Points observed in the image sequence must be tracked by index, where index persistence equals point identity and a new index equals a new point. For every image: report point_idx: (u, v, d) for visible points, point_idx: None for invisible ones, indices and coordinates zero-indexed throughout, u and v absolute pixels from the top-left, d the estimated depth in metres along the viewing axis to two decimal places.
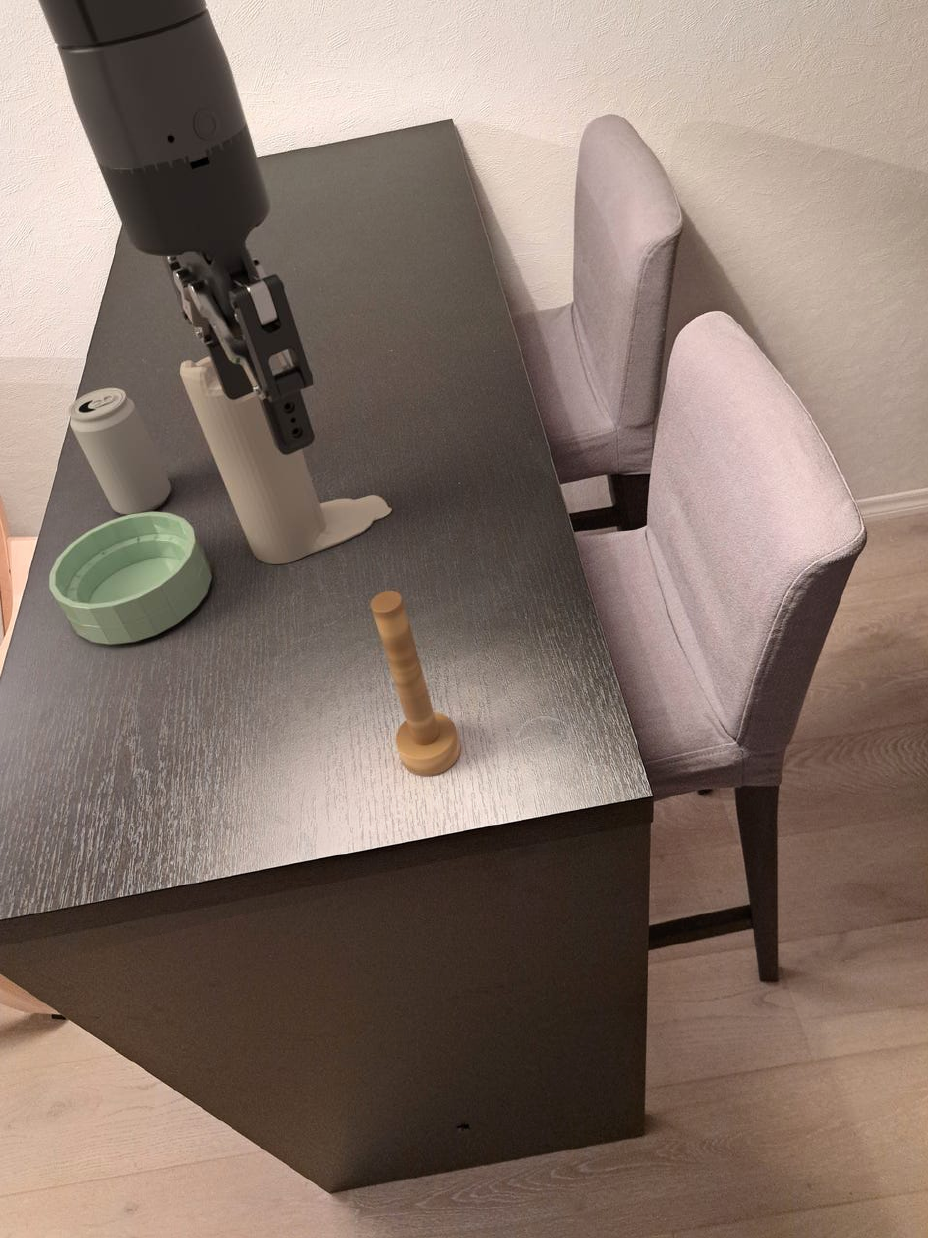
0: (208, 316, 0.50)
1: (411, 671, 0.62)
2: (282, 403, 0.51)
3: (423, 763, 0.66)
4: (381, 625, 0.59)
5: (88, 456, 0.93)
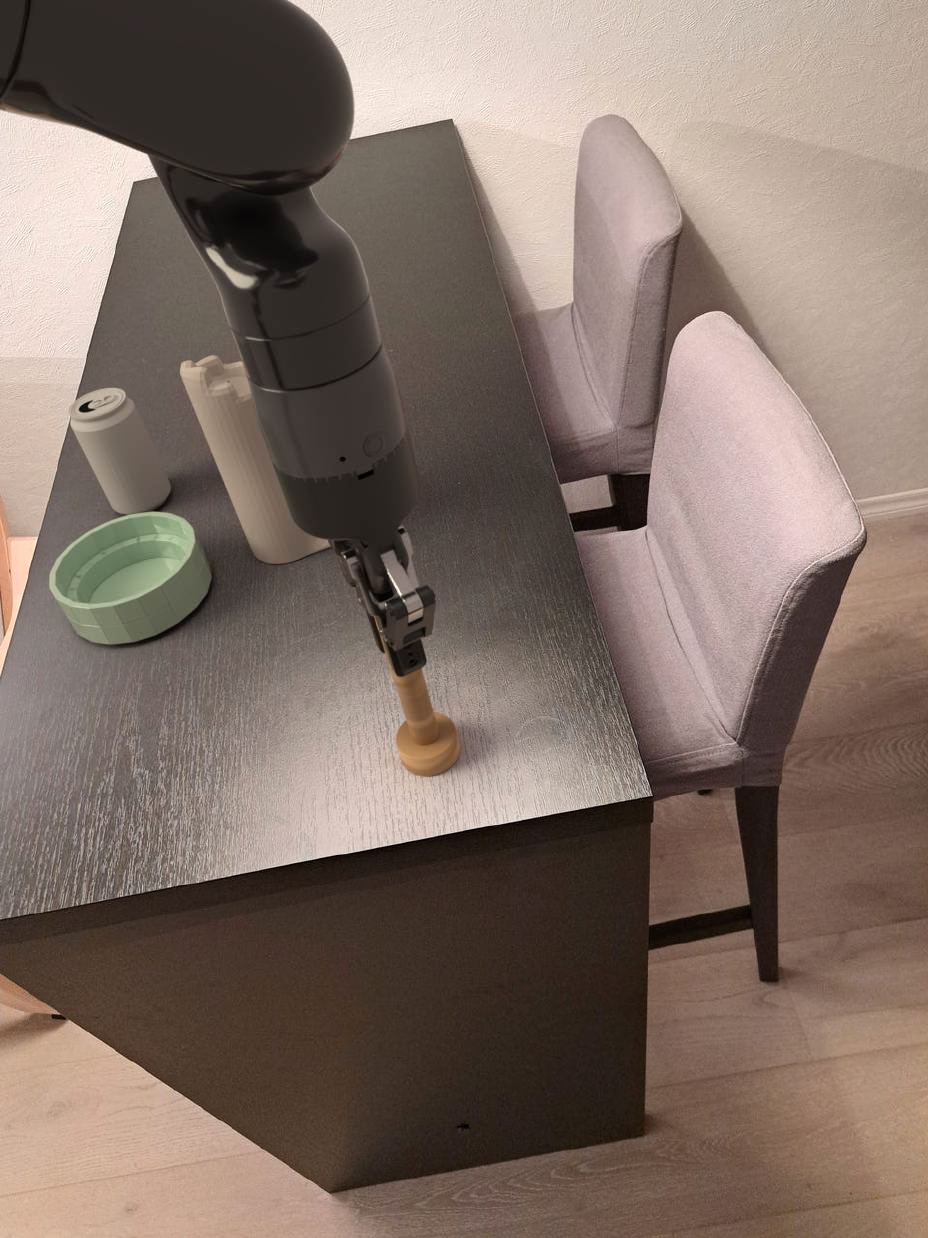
0: None
1: None
2: None
3: (423, 763, 0.66)
4: None
5: (88, 456, 0.93)
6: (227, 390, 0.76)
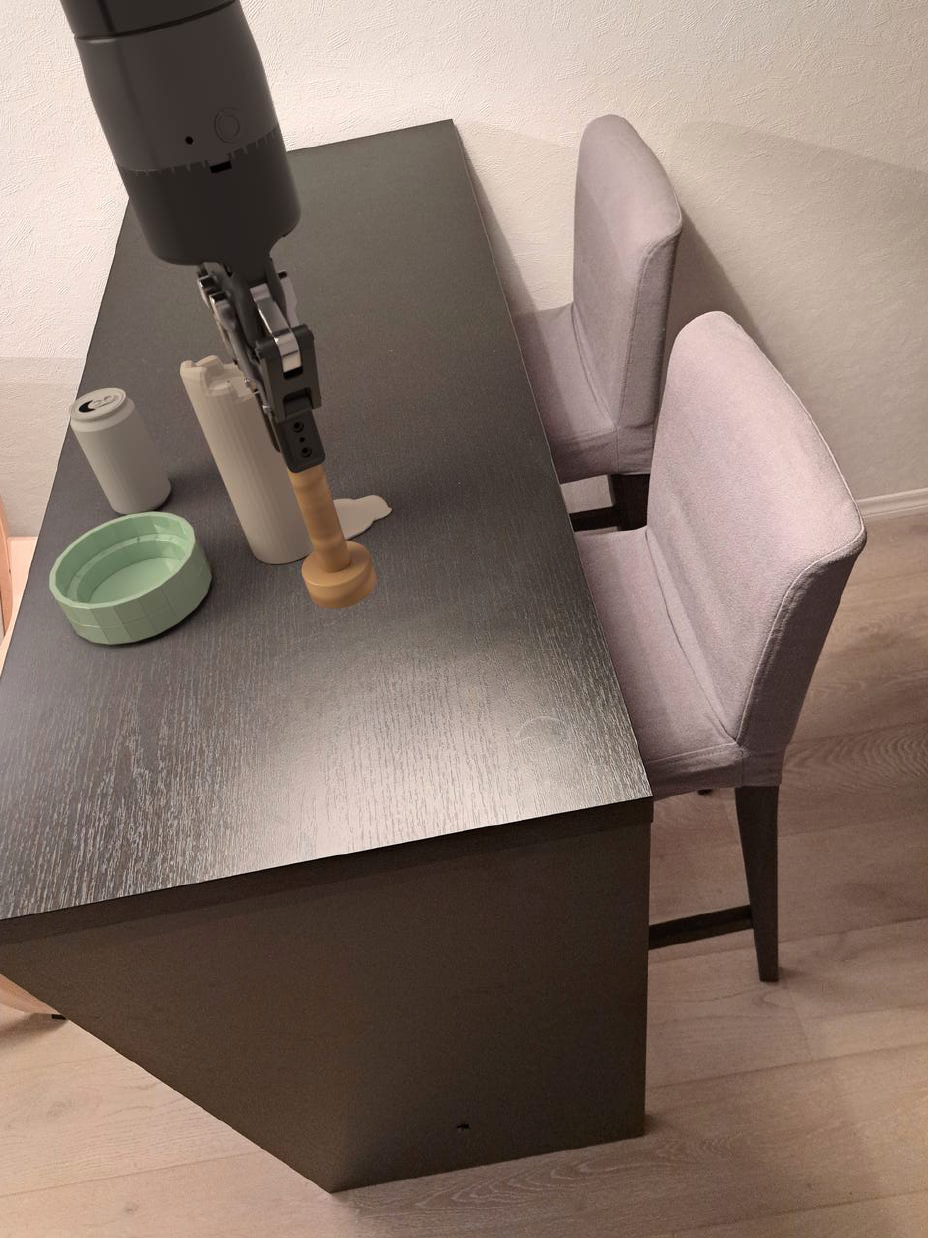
0: None
1: (309, 471, 0.54)
2: (291, 422, 0.50)
3: (330, 591, 0.58)
4: None
5: (88, 456, 0.93)
6: (227, 390, 0.76)
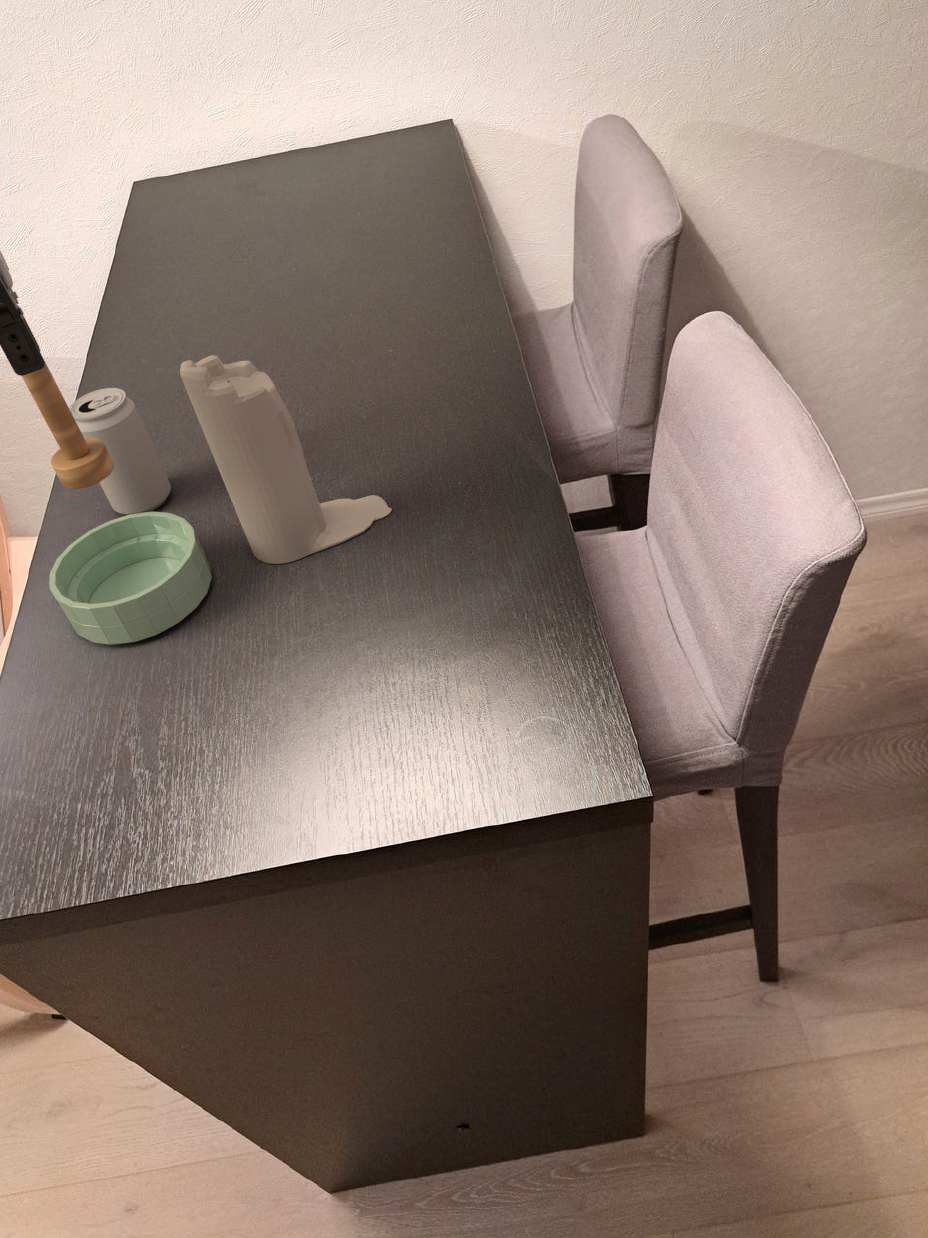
0: None
1: (36, 375, 0.70)
2: (6, 333, 0.67)
3: (69, 473, 0.75)
4: None
5: None
6: (227, 390, 0.76)
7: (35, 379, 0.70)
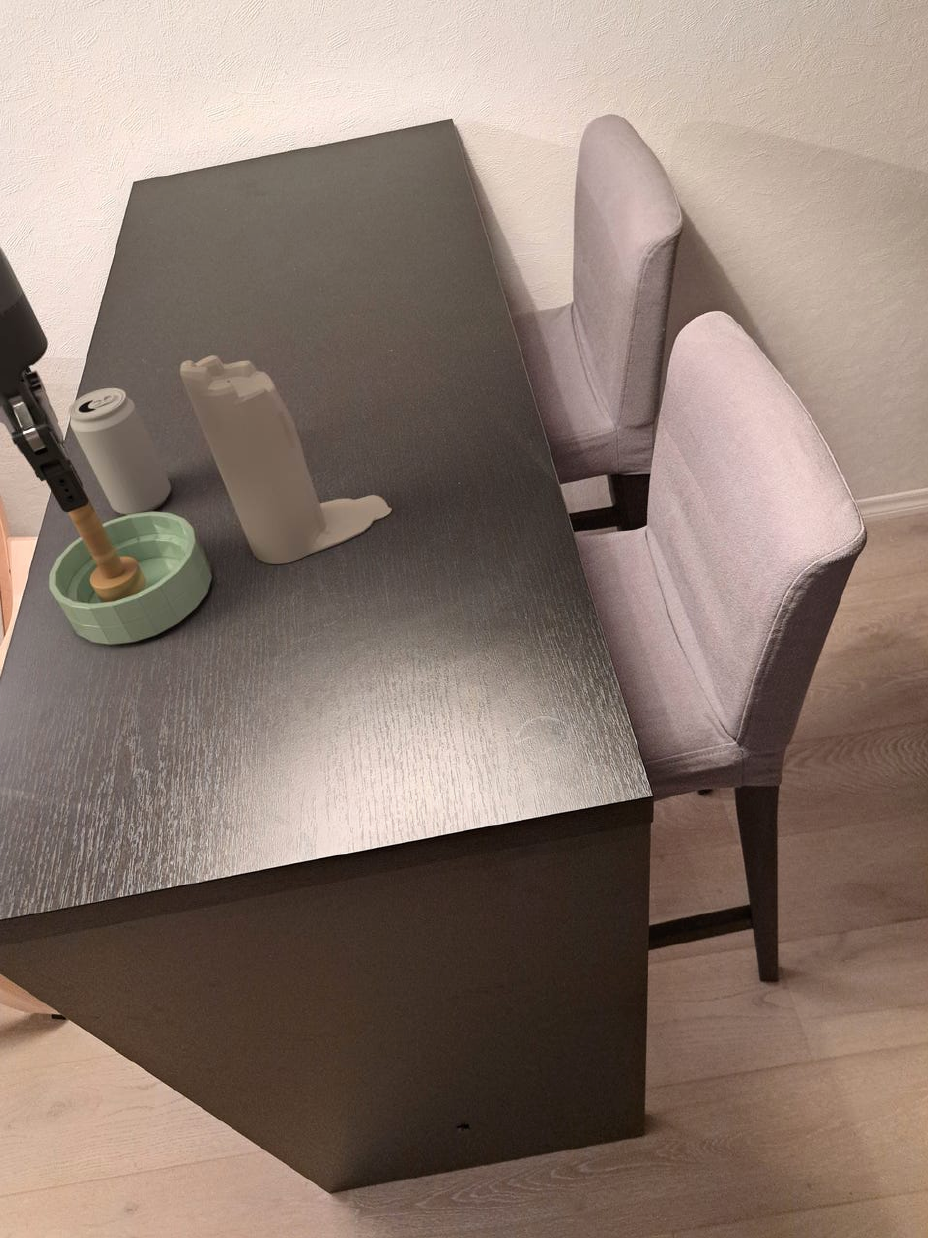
0: None
1: (80, 510, 0.79)
2: (56, 479, 0.75)
3: (107, 592, 0.83)
4: None
5: (88, 456, 0.93)
6: (227, 390, 0.76)
7: (79, 513, 0.79)
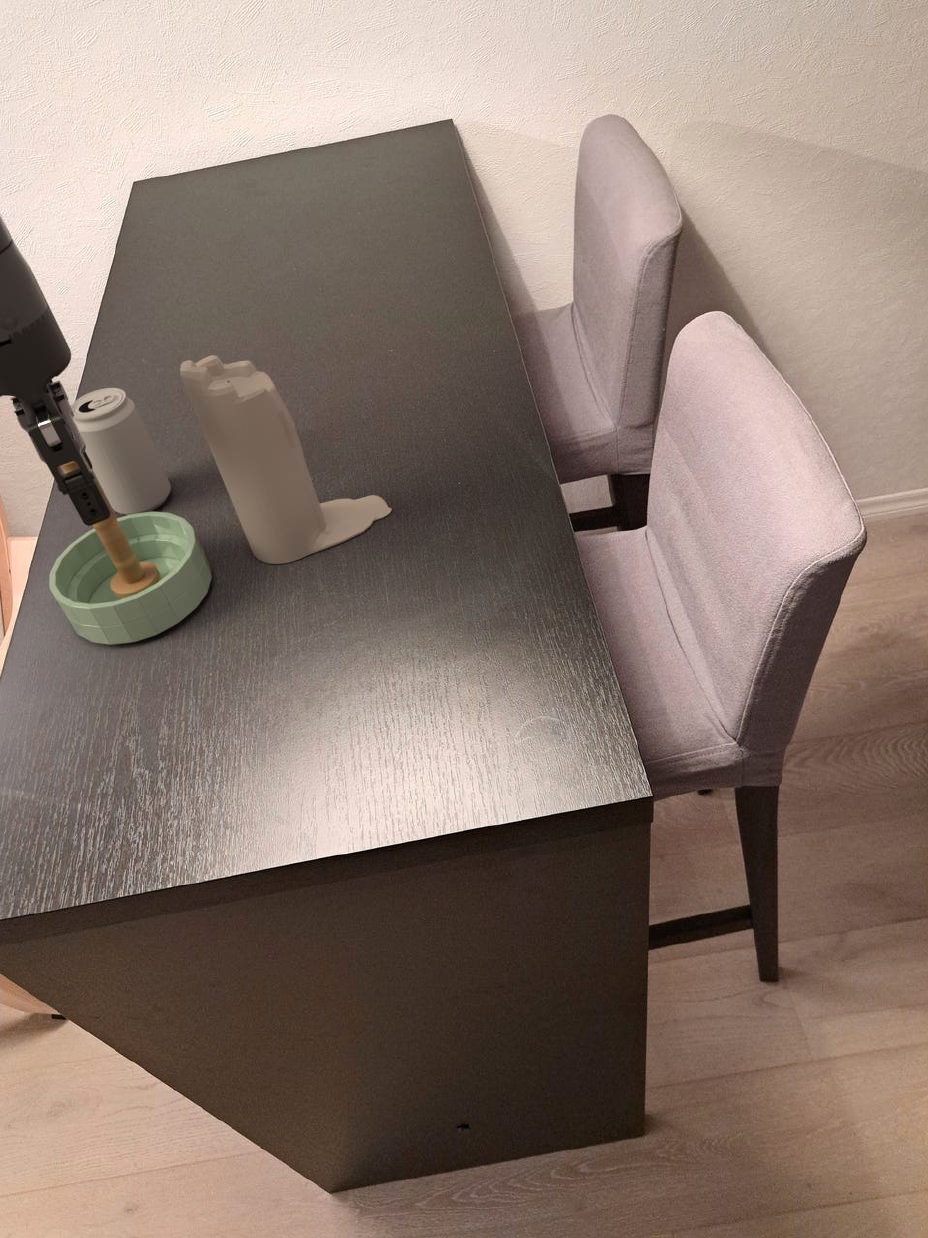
0: None
1: None
2: (79, 493, 0.74)
3: None
4: None
5: (88, 456, 0.93)
6: (227, 390, 0.76)
7: None
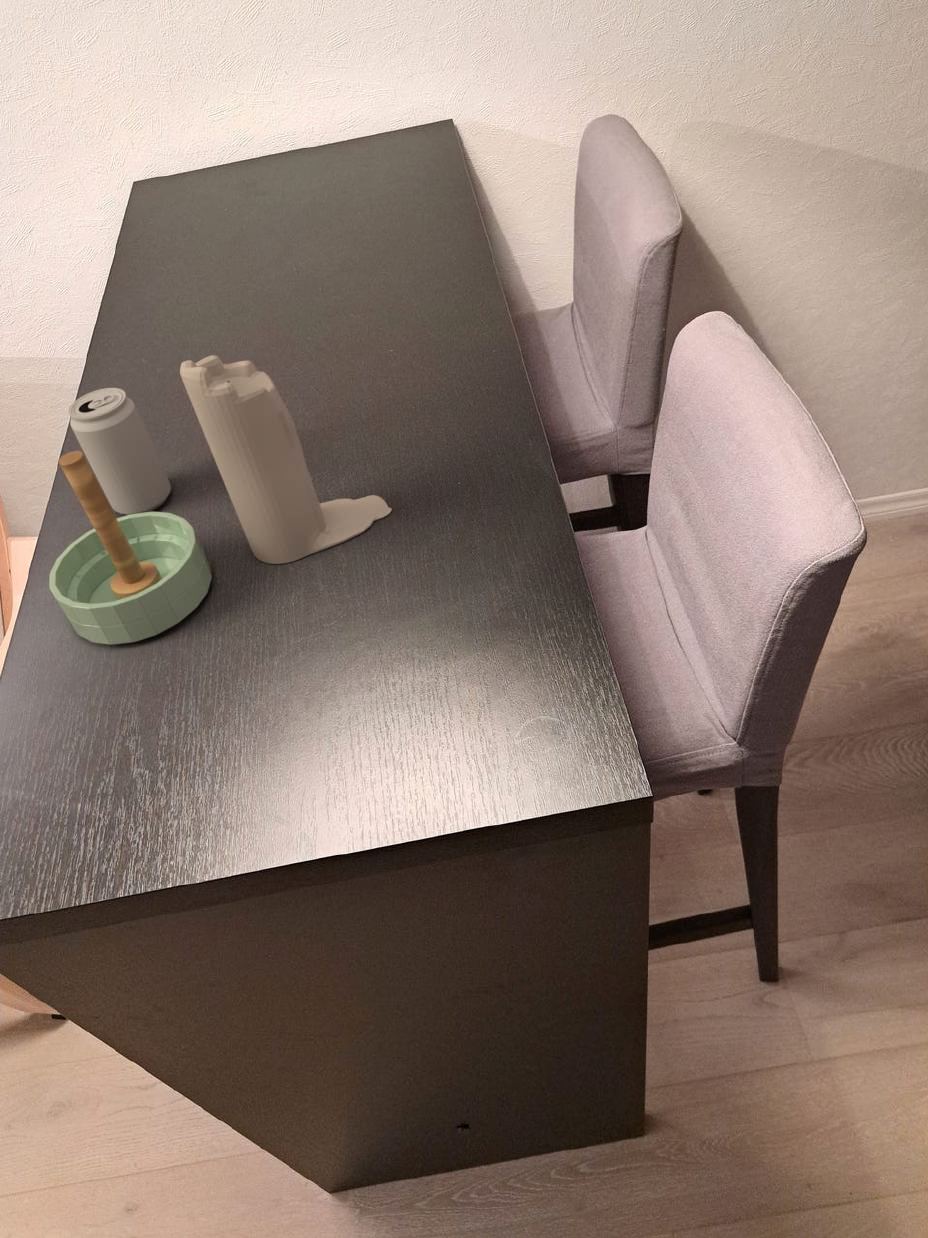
0: None
1: (102, 517, 0.80)
2: None
3: None
4: (68, 476, 0.77)
5: (88, 456, 0.93)
6: (227, 390, 0.76)
7: (101, 520, 0.80)
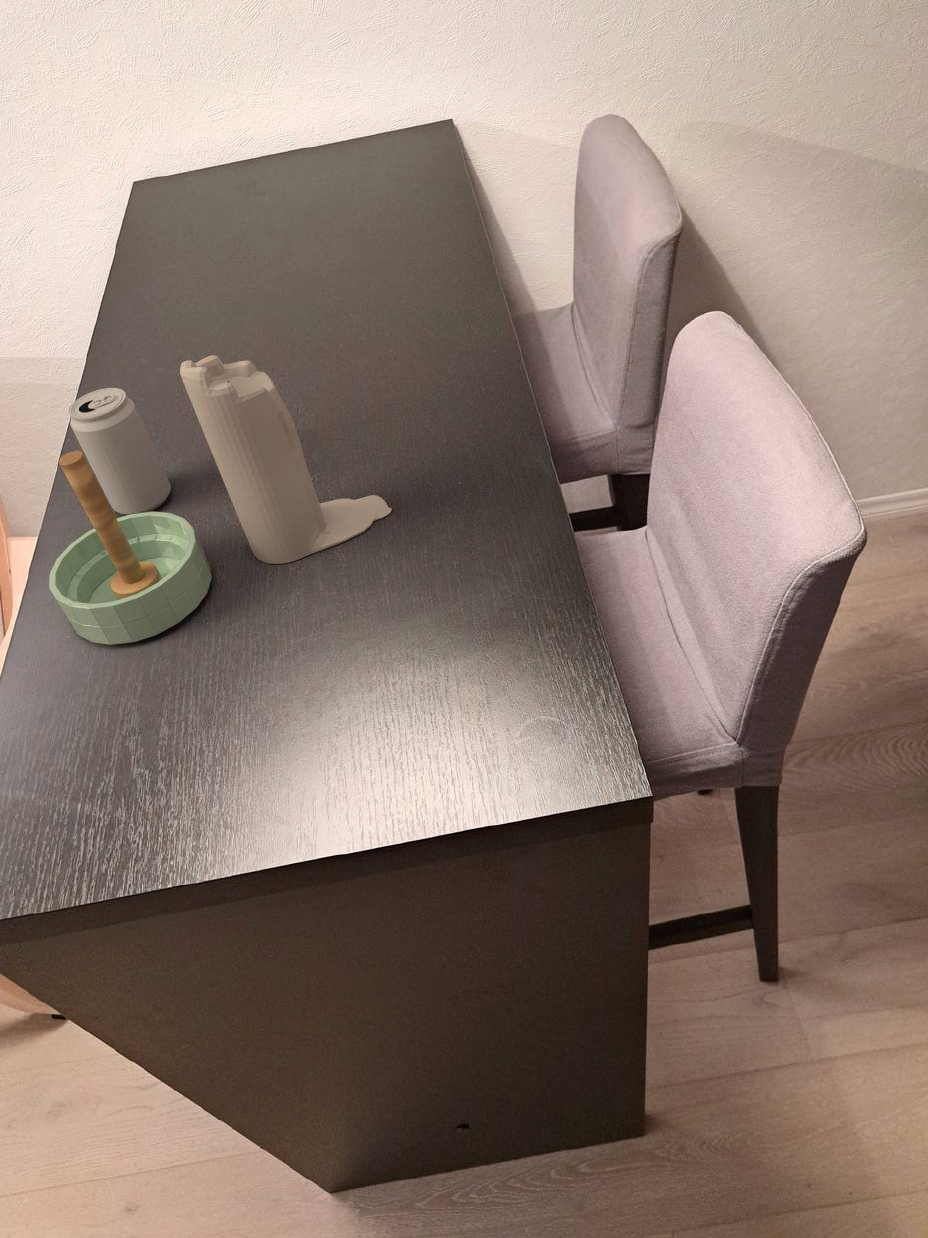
0: None
1: (102, 517, 0.80)
2: None
3: None
4: (68, 476, 0.77)
5: (88, 456, 0.93)
6: (227, 390, 0.76)
7: (101, 520, 0.80)
